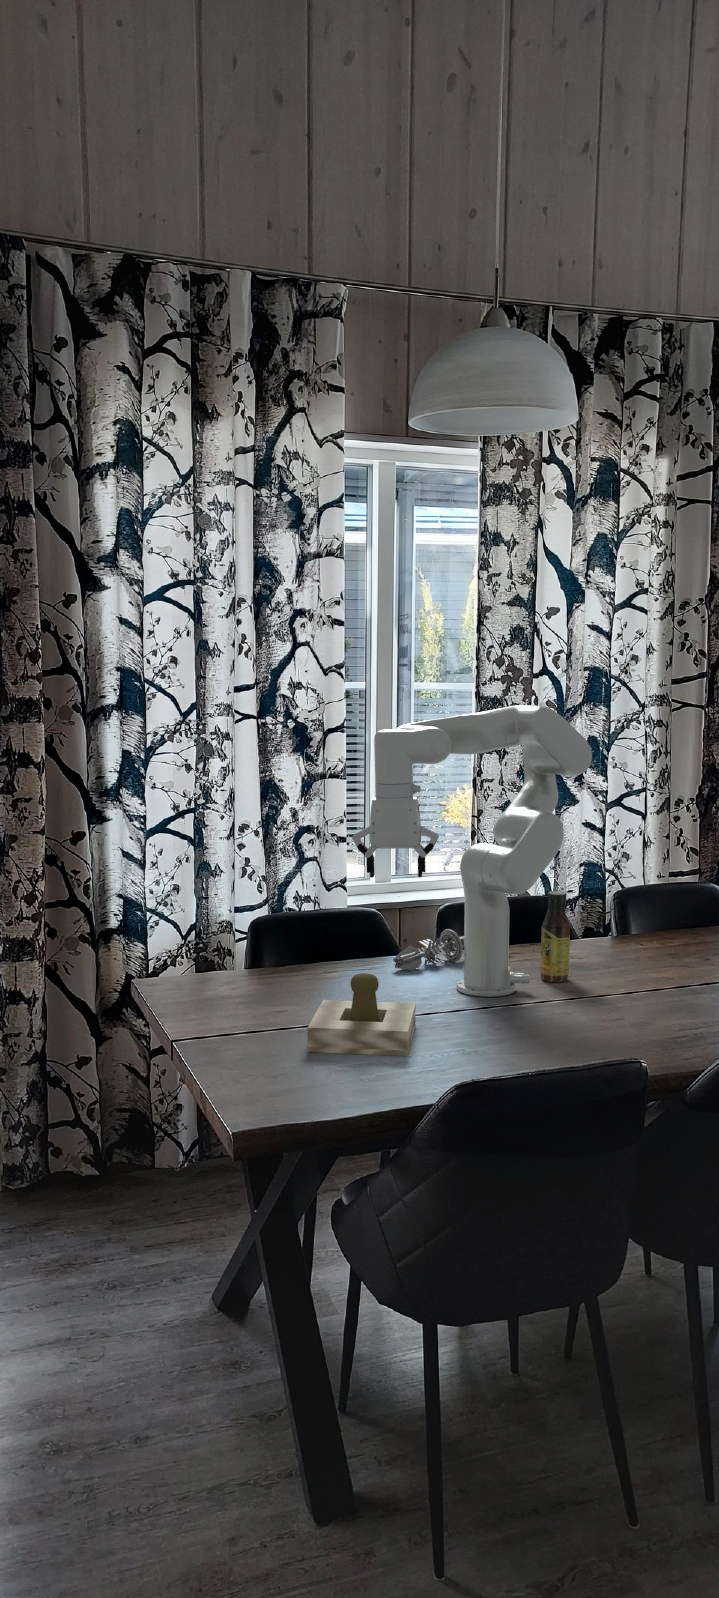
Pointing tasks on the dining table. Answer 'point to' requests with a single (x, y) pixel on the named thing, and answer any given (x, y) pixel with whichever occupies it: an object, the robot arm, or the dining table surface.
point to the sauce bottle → (555, 940)
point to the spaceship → (431, 951)
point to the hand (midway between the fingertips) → (396, 876)
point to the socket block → (362, 1029)
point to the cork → (364, 998)
